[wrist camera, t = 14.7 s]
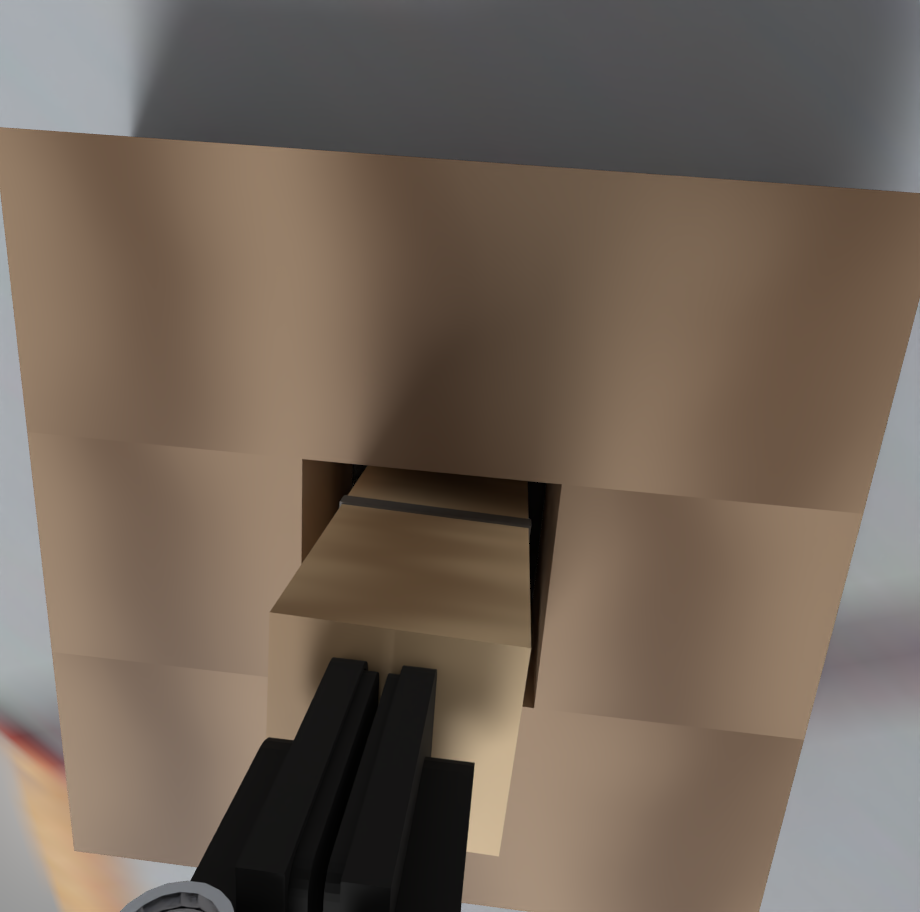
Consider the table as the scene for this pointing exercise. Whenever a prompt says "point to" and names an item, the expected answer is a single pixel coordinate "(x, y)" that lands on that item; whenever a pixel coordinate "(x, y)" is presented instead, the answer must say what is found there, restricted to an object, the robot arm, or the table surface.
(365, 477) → the peg
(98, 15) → the table surface
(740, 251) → the board
